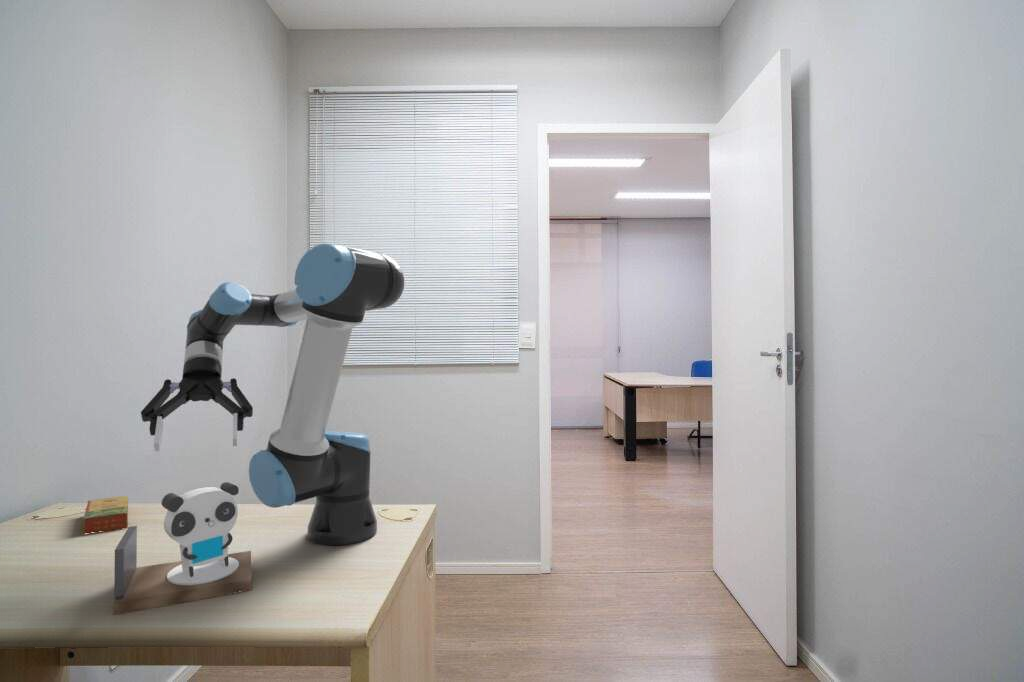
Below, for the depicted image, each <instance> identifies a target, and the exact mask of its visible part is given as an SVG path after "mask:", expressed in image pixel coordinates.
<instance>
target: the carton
mask: <svg viewBox="0 0 1024 682" xmlns="http://www.w3.org/2000/svg"><path fill="white" fill-rule="evenodd" d="M128 517H129V496H128V495H124V496H123V495H122V496H113V497H106V498H100V499H99V498H98V499H92V500H88V501H87V505H86V509H85V512H84V516H83V522H82V523H83V524H82V535H83V534H85V533H91V532H99V531H106V532H109V531H108V530H112V531H117V530H116V529H119V530H123V529H122V528H125V529H128V527H129V525H128V524H129V523H128Z"/></svg>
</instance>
